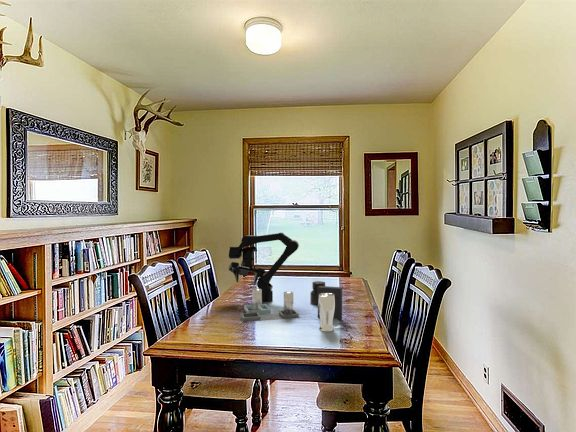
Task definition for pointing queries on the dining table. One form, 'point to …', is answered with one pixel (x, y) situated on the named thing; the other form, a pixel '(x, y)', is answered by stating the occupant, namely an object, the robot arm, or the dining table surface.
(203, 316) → the dining table surface
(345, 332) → the dining table surface
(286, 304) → the billet
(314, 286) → the ink bottle
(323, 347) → the dining table surface
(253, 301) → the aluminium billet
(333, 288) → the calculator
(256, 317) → the tray
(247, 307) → the tote
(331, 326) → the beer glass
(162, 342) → the dining table surface
